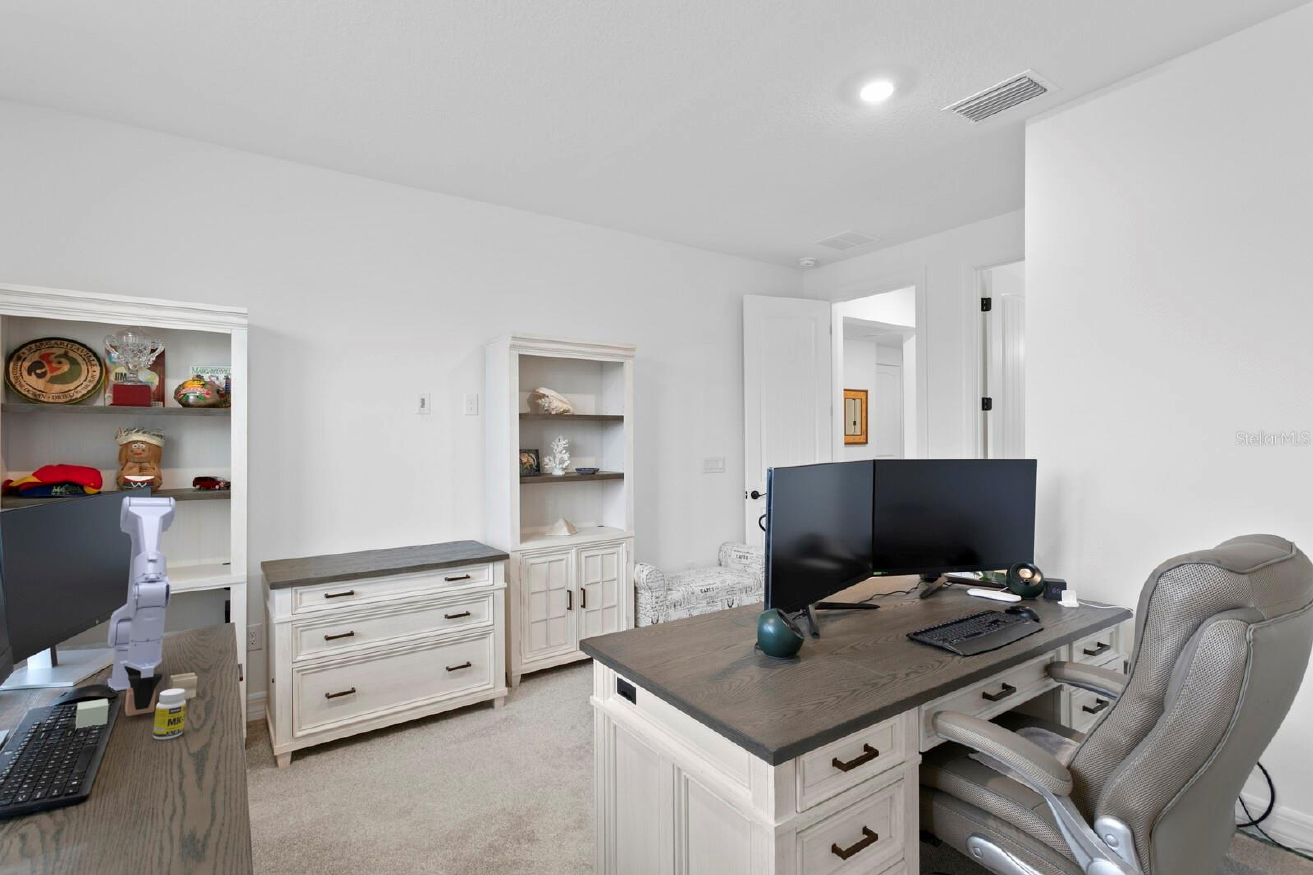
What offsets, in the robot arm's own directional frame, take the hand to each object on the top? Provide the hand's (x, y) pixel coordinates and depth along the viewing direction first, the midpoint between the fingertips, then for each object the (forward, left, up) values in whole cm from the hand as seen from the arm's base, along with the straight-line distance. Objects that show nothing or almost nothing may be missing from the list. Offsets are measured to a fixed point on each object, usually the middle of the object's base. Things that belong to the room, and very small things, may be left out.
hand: (140, 703), depth 138 cm
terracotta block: (0, 0, -2) cm, 2 cm away
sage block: (+5, -8, -2) cm, 10 cm away
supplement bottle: (+18, +3, -2) cm, 18 cm away
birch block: (-5, +8, -2) cm, 10 cm away
